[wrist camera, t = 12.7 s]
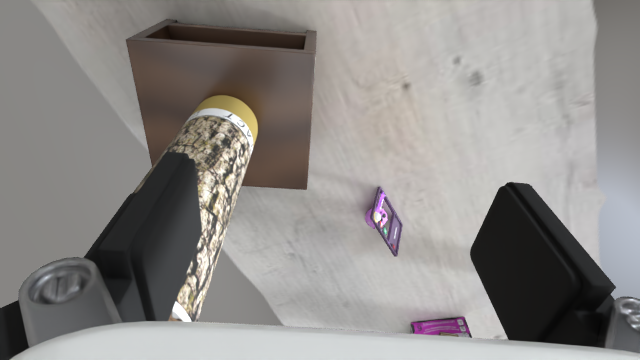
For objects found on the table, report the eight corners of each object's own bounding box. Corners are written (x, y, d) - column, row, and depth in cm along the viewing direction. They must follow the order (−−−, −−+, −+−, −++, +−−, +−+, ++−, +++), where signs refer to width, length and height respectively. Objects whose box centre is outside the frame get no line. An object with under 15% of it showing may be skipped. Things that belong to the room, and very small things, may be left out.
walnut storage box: (166, 19, 44) (125, 39, 34) (316, 30, 44) (315, 53, 35) (183, 138, 52) (154, 180, 43) (309, 147, 53) (306, 189, 44)
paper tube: (208, 156, 41) (95, 376, 20) (184, 99, 38) (15, 297, 17) (266, 145, 40) (210, 361, 19) (247, 86, 37) (153, 275, 16)
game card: (401, 256, 56) (376, 216, 52) (371, 259, 59) (345, 222, 54) (406, 224, 60) (384, 185, 56) (378, 228, 63) (355, 191, 59)
